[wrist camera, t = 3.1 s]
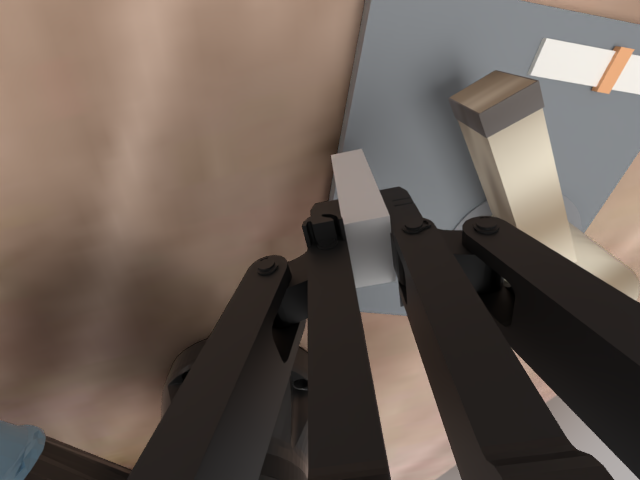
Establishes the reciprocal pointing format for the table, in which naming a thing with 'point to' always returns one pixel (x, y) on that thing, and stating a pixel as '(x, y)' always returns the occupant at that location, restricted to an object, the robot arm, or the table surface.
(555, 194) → the lever
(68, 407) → the table surface
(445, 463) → the table surface
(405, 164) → the grey base plate
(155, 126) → the table surface
